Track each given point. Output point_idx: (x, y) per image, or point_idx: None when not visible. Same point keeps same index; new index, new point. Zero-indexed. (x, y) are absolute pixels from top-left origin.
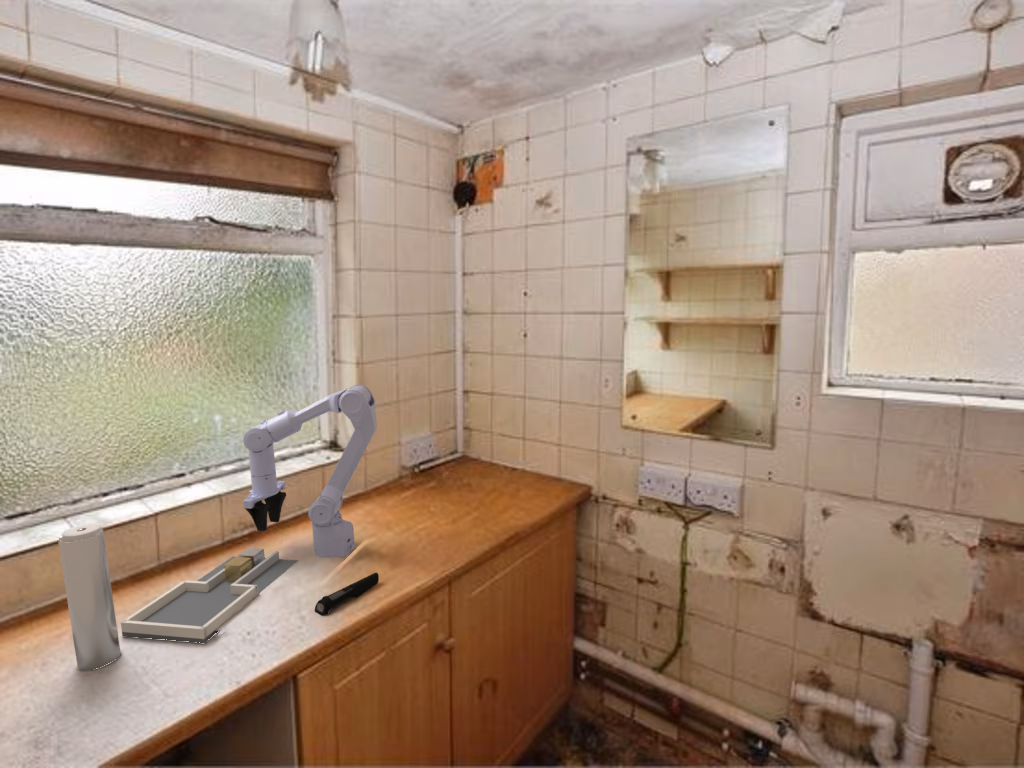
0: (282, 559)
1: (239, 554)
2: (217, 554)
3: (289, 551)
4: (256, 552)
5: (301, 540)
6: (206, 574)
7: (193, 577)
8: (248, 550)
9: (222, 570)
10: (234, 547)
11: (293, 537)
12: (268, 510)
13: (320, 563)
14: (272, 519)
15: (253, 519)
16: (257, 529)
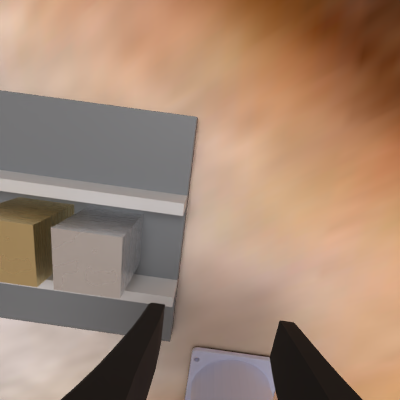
0: (174, 298)
1: (56, 229)
2: (254, 11)
3: (258, 278)
4: (83, 287)
5: (343, 283)
6: (49, 97)
7: (59, 38)
8: (97, 247)
9: (9, 184)
10: (319, 53)
11: (377, 249)
12: (319, 389)
13: (177, 376)
14: (281, 346)
15: (102, 363)
16: (147, 308)
